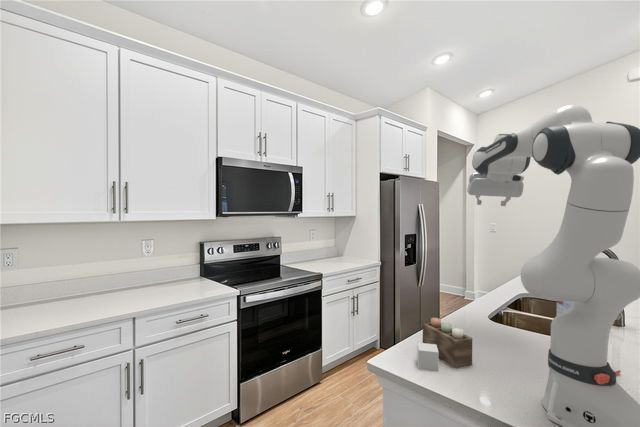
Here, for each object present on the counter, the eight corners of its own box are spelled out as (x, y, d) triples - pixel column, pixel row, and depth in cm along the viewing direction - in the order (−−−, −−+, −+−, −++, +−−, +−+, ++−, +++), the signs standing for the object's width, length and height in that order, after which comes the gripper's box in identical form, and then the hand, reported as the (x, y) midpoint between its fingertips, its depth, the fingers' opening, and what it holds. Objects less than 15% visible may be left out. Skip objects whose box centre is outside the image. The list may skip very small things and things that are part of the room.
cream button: (465, 338, 104) (465, 331, 104) (457, 339, 102) (457, 332, 102) (457, 334, 107) (457, 327, 107) (449, 335, 106) (449, 328, 106)
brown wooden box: (472, 365, 103) (472, 338, 103) (455, 368, 101) (455, 341, 101) (437, 345, 118) (438, 321, 118) (422, 347, 116) (422, 323, 116)
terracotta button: (442, 327, 113) (443, 320, 113) (435, 328, 112) (435, 321, 112) (436, 323, 117) (436, 317, 117) (428, 324, 115) (428, 318, 115)
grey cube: (417, 360, 107) (417, 342, 107) (436, 362, 105) (436, 344, 105) (418, 368, 101) (418, 350, 101) (438, 371, 100) (438, 352, 99)
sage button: (453, 332, 108) (453, 325, 108) (445, 333, 107) (445, 326, 107) (446, 328, 112) (446, 322, 112) (438, 330, 111) (438, 323, 110)
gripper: (472, 175, 127) (466, 206, 133) (528, 177, 123) (519, 209, 129) (468, 170, 132) (463, 200, 138) (522, 172, 128) (514, 203, 135)
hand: (490, 205), depth 134 cm, fingers open, 8 cm apart
